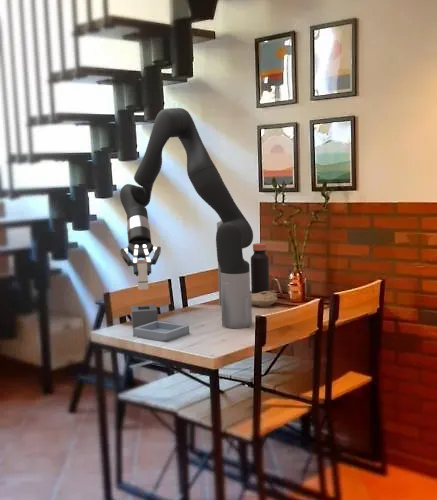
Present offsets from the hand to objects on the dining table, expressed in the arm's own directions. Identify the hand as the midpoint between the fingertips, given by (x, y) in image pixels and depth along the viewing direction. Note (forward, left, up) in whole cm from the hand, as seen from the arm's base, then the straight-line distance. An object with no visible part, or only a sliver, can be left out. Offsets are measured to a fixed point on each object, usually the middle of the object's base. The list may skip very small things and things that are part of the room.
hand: (142, 274), depth 220 cm
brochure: (-21, -39, -17) cm, 48 cm away
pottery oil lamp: (-33, -32, -17) cm, 49 cm away
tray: (-8, +11, -17) cm, 22 cm away
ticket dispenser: (+1, -2, -17) cm, 17 cm away
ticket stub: (+1, -2, -5) cm, 5 cm away
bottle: (-31, -49, -17) cm, 61 cm away
